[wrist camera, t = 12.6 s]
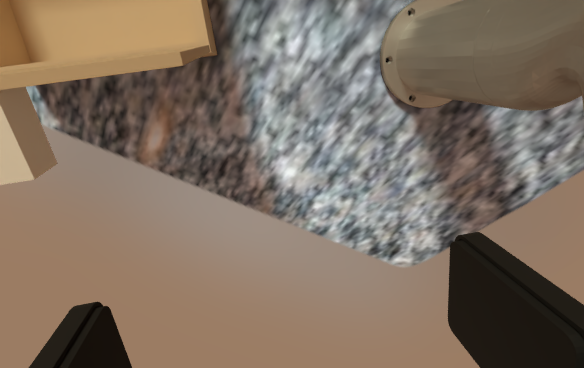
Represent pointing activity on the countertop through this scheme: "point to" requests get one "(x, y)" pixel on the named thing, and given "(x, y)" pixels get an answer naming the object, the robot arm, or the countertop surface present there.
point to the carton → (98, 29)
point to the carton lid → (12, 84)
